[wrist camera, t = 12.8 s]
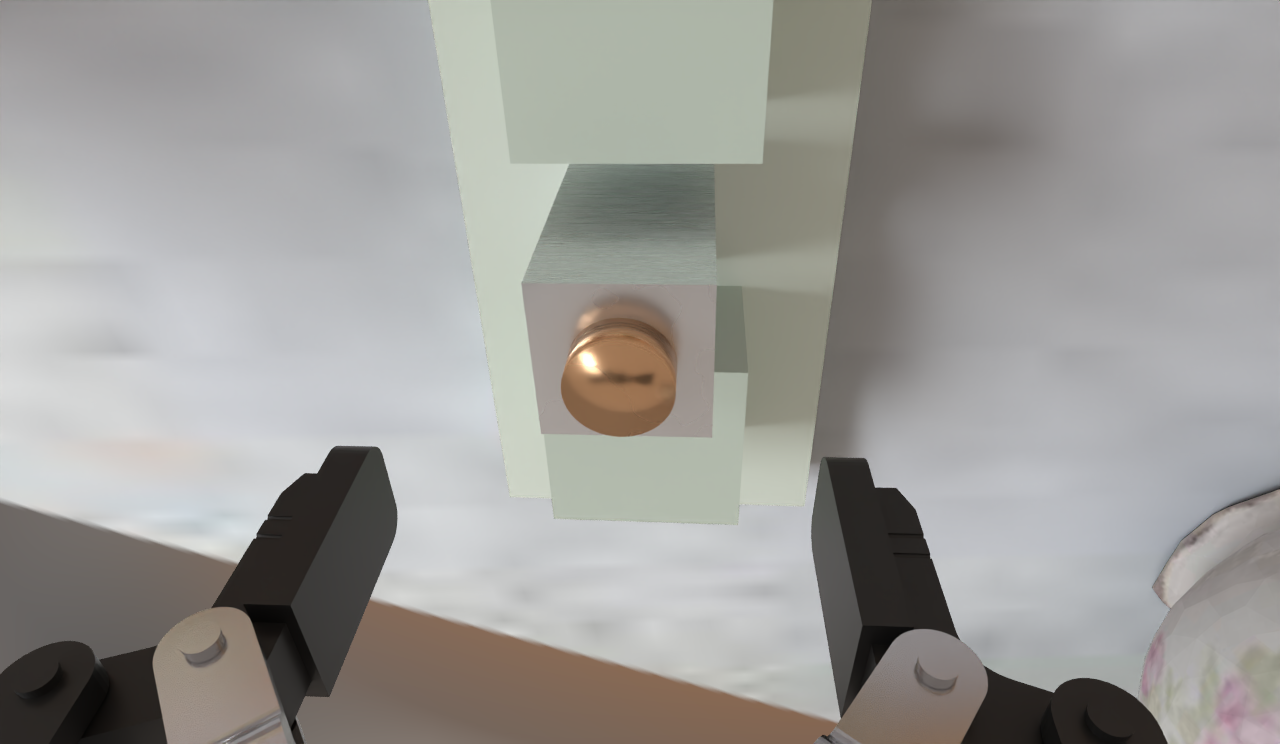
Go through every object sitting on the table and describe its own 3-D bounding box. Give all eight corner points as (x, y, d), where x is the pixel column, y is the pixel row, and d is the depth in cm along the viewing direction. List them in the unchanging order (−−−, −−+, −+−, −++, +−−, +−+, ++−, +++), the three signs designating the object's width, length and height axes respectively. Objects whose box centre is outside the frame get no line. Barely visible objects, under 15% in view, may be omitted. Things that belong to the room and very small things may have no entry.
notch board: (521, 456, 34) (481, 594, 28) (433, -144, 22) (325, -131, 16) (798, 464, 33) (818, 608, 27) (874, -156, 21) (944, -147, 15)
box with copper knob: (579, 138, 23) (511, 308, 15) (713, 137, 23) (717, 310, 15) (588, 259, 26) (533, 462, 18) (710, 259, 25) (712, 467, 17)
